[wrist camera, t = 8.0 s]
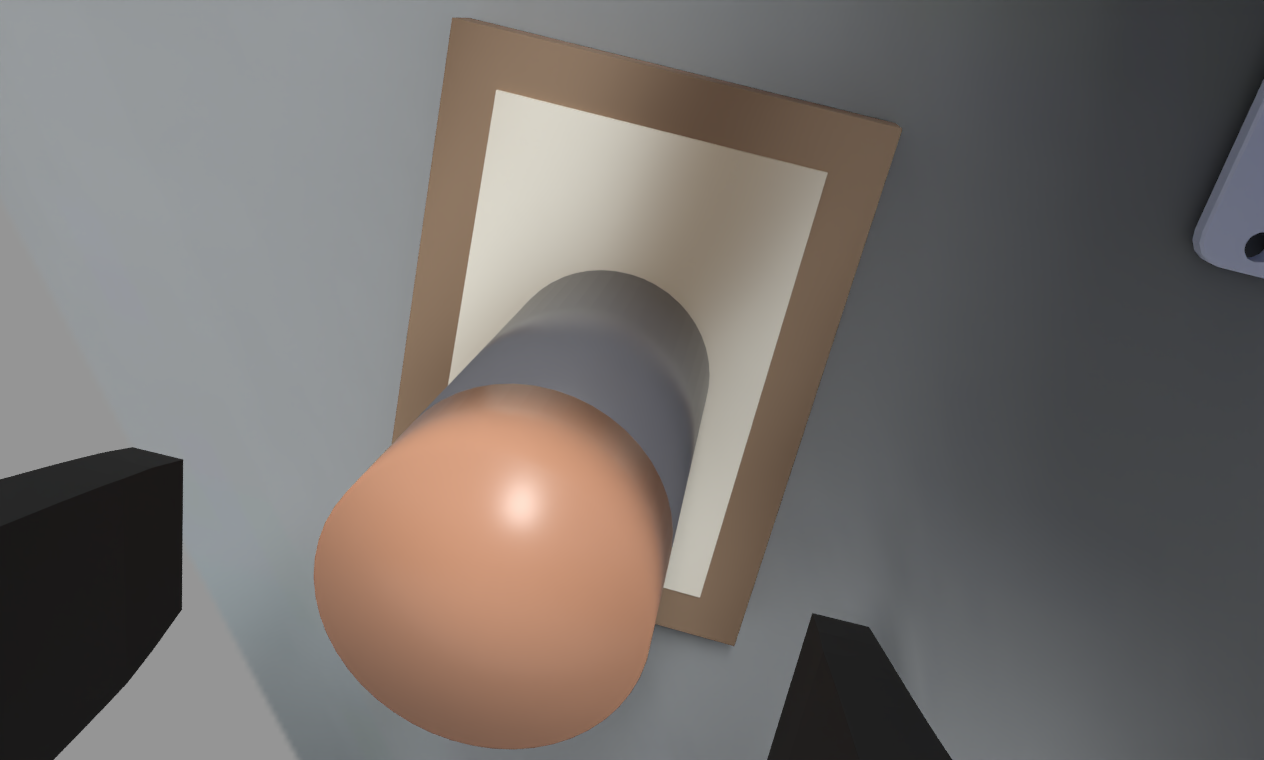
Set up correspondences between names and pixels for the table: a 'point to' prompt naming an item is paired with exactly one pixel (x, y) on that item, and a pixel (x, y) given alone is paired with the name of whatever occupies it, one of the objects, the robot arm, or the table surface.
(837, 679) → the robot arm
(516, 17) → the table surface
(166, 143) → the table surface
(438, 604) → the gray and tan capsule
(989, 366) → the table surface
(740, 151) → the brown picture frame
